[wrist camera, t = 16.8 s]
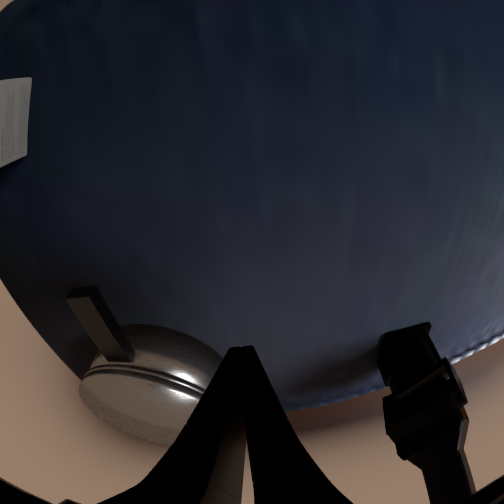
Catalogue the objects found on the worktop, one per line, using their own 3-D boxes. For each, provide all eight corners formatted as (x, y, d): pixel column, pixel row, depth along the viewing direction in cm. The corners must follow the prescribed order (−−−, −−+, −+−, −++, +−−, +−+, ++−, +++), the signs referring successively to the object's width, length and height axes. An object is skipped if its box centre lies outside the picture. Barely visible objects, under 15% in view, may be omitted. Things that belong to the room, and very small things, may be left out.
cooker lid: (204, 369, 21) (203, 379, 20) (244, 440, 30) (244, 447, 29) (53, 363, 22) (50, 370, 21) (127, 433, 31) (126, 439, 30)
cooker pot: (189, 247, 22) (171, 297, 17) (245, 401, 35) (244, 440, 30) (43, 271, 24) (13, 309, 18) (135, 400, 37) (127, 433, 31)
